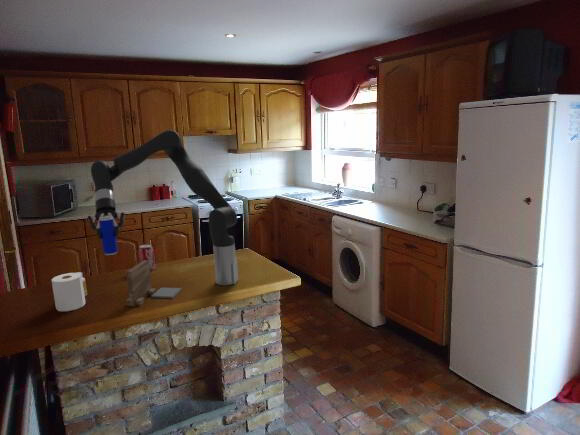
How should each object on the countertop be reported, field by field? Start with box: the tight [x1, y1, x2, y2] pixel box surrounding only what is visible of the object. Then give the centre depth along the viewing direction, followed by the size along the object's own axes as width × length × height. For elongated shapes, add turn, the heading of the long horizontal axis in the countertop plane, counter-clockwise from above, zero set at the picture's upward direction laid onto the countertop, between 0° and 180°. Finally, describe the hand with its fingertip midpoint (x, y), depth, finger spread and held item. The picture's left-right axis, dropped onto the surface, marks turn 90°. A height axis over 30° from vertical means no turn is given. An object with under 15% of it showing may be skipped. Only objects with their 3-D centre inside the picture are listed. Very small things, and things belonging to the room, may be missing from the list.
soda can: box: [138, 243, 156, 272], centre depth 206 cm, size 7×7×12 cm
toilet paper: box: [51, 272, 87, 312], centre depth 166 cm, size 10×10×12 cm
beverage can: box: [99, 216, 119, 256], centre depth 168 cm, size 5×5×15 cm
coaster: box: [151, 287, 182, 299], centre depth 176 cm, size 9×9×1 cm
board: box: [125, 260, 157, 307], centre depth 170 cm, size 6×14×14 cm, turn 171°
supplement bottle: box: [76, 271, 88, 297], centre depth 176 cm, size 5×5×10 cm
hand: (108, 237), depth 167 cm, fingers closed on beverage can, 5 cm apart
